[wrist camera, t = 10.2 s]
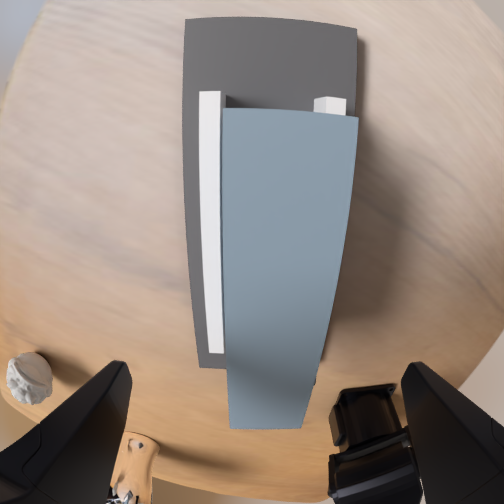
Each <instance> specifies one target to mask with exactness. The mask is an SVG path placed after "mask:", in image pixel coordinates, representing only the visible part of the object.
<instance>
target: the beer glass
mask: <svg viewBox="0 0 504 504" xmlns="http://www.w3.org/2000/svg"><path fill="white" fill-rule="evenodd" d="M158 452H159V445H158V444H157V443H156V442H155V441H154V440H152V439H150V438H148V437H146V436H144V435H141V434H137V433H133V432H124V433H123V436H122V440H121V444H120V447H119V451H118V455H117V459H116V463H115V467H114V471H113V475H112V479H111V483H110V488H109V492H108V496H107V501H106V504H152V468H153V464H154V461H155V458H156V456H157V454H158Z"/></svg>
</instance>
